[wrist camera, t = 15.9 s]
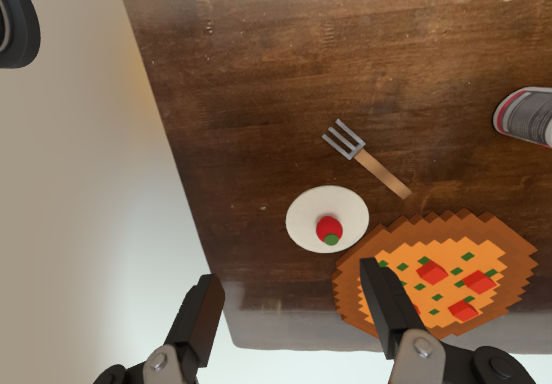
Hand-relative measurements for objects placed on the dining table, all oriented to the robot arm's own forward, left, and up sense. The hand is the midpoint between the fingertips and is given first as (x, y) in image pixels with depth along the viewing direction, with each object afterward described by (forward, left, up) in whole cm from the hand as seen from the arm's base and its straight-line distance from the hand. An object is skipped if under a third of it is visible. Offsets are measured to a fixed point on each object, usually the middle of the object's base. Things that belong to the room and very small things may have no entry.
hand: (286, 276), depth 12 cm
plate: (-5, -12, -21) cm, 24 cm away
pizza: (-4, -35, -21) cm, 41 cm away
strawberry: (-5, -12, -20) cm, 24 cm away
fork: (+6, -9, -21) cm, 23 cm away
